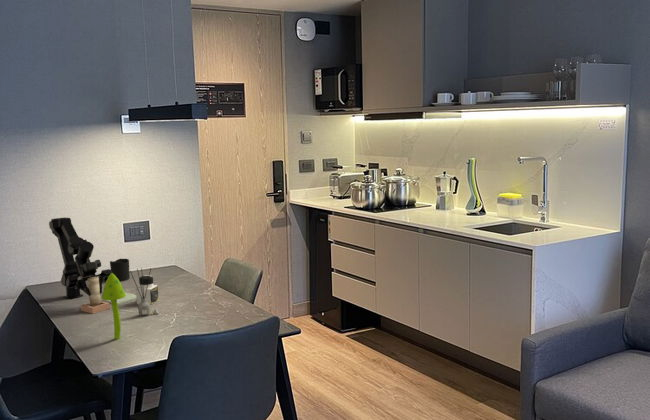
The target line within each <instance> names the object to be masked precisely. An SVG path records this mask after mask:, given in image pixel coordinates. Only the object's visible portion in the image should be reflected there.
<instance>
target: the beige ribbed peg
mask: <svg viewBox="0 0 650 420" xmlns="http://www.w3.org/2000/svg"><path fill="white" fill-rule="evenodd" d="M87 287H88V289H89V291H90V294H91V295H90V296H89V295H88V299H89V300H88V301H89V303H90V306H92V307H95V306H98V305H101V299H102V298H101V294H100V287H99V277H90V278H88V281H87Z"/></svg>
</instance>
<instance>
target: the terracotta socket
mask: <svg viewBox="0 0 650 420" xmlns="http://www.w3.org/2000/svg"><path fill="white" fill-rule="evenodd" d="M110 304H111V303H108V302H104V301H101V305H98V306H95V307H92V306H90V302H88V303H83V304H81V305H80V307H81V308H80V310H81V312H85V313H89V314H96V313H100V312H104V311H107V310H110V309H111V305H110Z"/></svg>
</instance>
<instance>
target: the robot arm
mask: <svg viewBox="0 0 650 420" xmlns="http://www.w3.org/2000/svg"><path fill="white" fill-rule="evenodd" d="M48 225H49V227H48V228H49V229H51V233H52V235H54V236H55V237H57V241H58V245H59V249H60V252H61V255H62V260H63V264H64V267H63V269H62V274H61V275H62V276H61V278H60V283H61V285H62V286H63V287H65V295H63V298H65V299H69V300H72V299H76V298H80V297H83V296H84V294H86V295H87V296H88V297H89V296H90V295H91V294H90V291H89V289H88V284H87V282H88V278H90V277H99V287H100V295H102V293H103V284H104V283H106V281H107V279H108V277H109V275H110V274H111V273H112V271H111V268H107V269H101V272H100V273H97V271H98V269H99V268H101V267H102V262H101V259H96V260H94V261H91V259H90V258H91V257H92V254H93V252H94V249H95V248H94V247H95V246H94V244H93V243H92V242H91V241H87V239H84V238H82V237H81V236H79V235H78V233H77V232H76V229H75V227H74V225H73V224H72V219H71V218H70V217H56V218H51V220H50V221H48ZM96 273H97V274H96ZM81 291H82V292H84V294H83V293H81Z"/></svg>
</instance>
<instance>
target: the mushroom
mask: <svg viewBox="0 0 650 420" xmlns="http://www.w3.org/2000/svg"><path fill="white" fill-rule="evenodd" d="M104 283H105V284H104V287H103V288H102V294H101V299H103V300H111V303H110V304H111V307H112V315H113V330H114V336H113V337H114V340H120V337H121V329H122V326H121V323H122V322H121V315H120V310H119V305H117V299H121V298H124V297H125V296H126V295H125V292H126V291H125V290H124V288H123V286H122V282H121V281H119V280H118V278H117V277H116V276H115V275H114V274H113V273H111V274H110V275H109V277H108V279H107V281H105V282H104Z"/></svg>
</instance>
